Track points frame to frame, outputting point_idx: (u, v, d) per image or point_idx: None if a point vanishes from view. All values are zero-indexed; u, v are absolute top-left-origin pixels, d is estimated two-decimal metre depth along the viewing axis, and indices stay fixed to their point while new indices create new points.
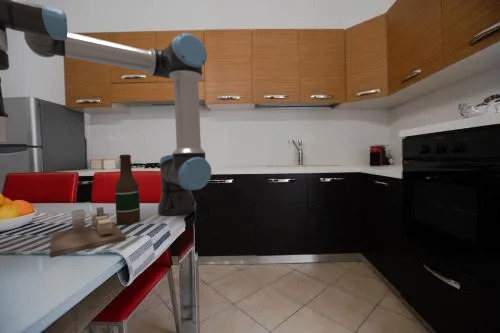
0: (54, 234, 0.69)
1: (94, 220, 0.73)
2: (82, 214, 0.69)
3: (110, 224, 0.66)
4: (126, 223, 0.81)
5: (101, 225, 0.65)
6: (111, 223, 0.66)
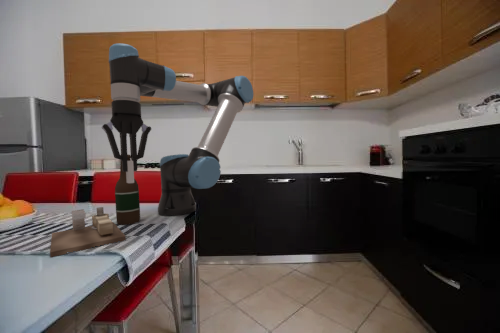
0: (54, 234, 0.69)
1: (94, 220, 0.73)
2: (82, 214, 0.69)
3: (110, 224, 0.66)
4: (126, 223, 0.81)
5: (101, 225, 0.65)
6: (111, 223, 0.66)
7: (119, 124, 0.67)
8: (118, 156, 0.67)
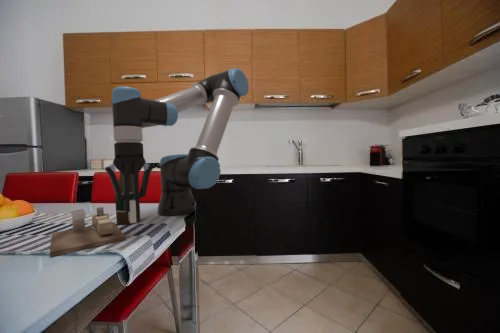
0: (54, 234, 0.69)
1: (94, 220, 0.73)
2: (82, 214, 0.69)
3: (110, 224, 0.66)
4: (126, 223, 0.81)
5: (101, 225, 0.65)
6: (111, 223, 0.66)
7: (122, 165, 0.67)
8: (120, 197, 0.67)
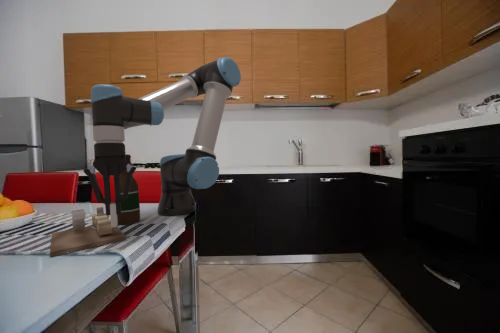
0: (54, 234, 0.69)
1: (94, 220, 0.73)
2: (82, 214, 0.69)
3: (109, 224, 0.66)
4: (126, 223, 0.81)
5: (100, 225, 0.64)
6: (110, 223, 0.66)
7: (101, 167, 0.65)
8: (100, 200, 0.65)
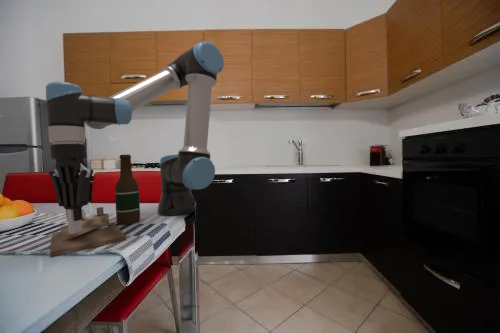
0: (54, 234, 0.69)
1: None
2: (82, 214, 0.69)
3: None
4: (126, 223, 0.81)
5: (61, 228, 0.63)
6: None
7: None
8: (60, 204, 0.63)
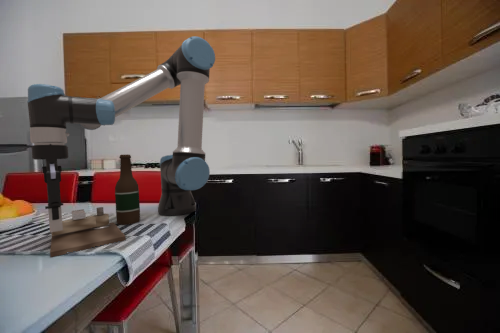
0: None
1: None
2: (82, 214, 0.69)
3: None
4: (126, 223, 0.81)
5: None
6: None
7: None
8: None
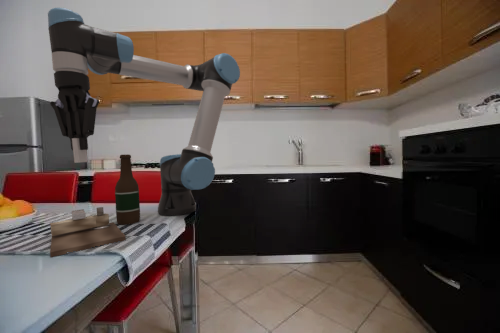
0: None
1: None
2: (82, 214, 0.69)
3: (51, 226, 0.65)
4: (126, 223, 0.81)
5: (50, 224, 0.67)
6: (51, 226, 0.65)
7: None
8: (64, 134, 0.63)
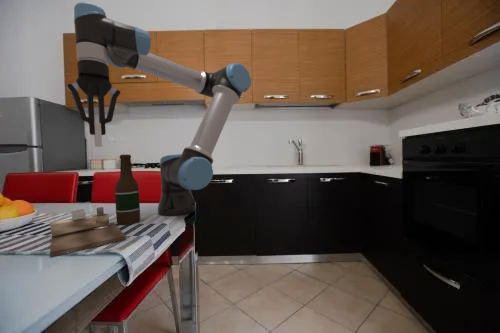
0: None
1: None
2: (82, 214, 0.69)
3: (51, 226, 0.65)
4: (126, 223, 0.81)
5: (50, 224, 0.67)
6: (51, 226, 0.65)
7: (85, 85, 0.66)
8: (84, 117, 0.66)
